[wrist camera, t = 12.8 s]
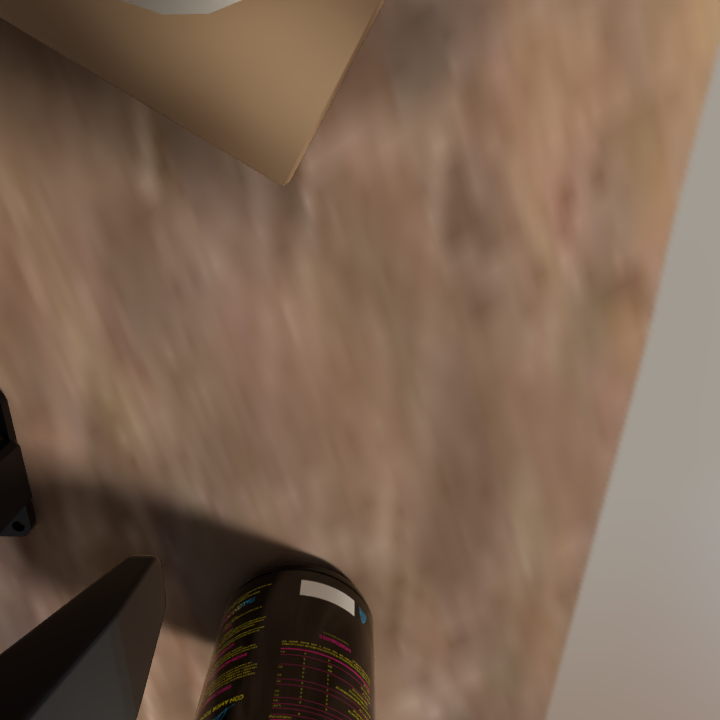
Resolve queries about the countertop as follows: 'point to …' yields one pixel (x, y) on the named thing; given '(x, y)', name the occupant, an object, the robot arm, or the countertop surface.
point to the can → (182, 6)
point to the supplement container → (292, 650)
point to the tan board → (216, 65)
